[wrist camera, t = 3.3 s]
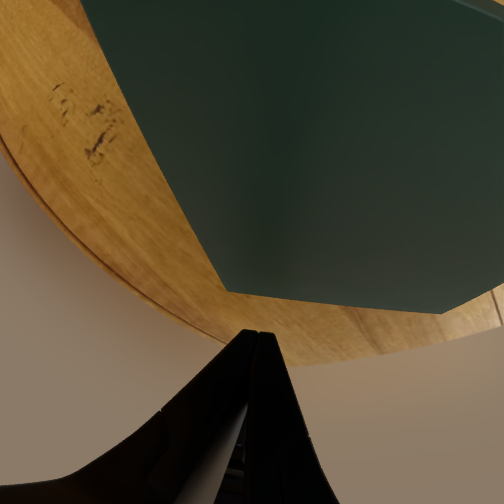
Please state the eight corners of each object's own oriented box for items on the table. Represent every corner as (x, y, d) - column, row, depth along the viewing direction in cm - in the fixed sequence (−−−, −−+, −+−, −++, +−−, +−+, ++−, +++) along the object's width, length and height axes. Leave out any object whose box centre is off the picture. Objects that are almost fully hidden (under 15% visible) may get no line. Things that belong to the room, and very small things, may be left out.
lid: (105, -26, 3) (76, -4, 2) (654, 126, 1) (669, 156, 1) (229, 275, 15) (226, 291, 15) (441, 298, 14) (441, 314, 14)
